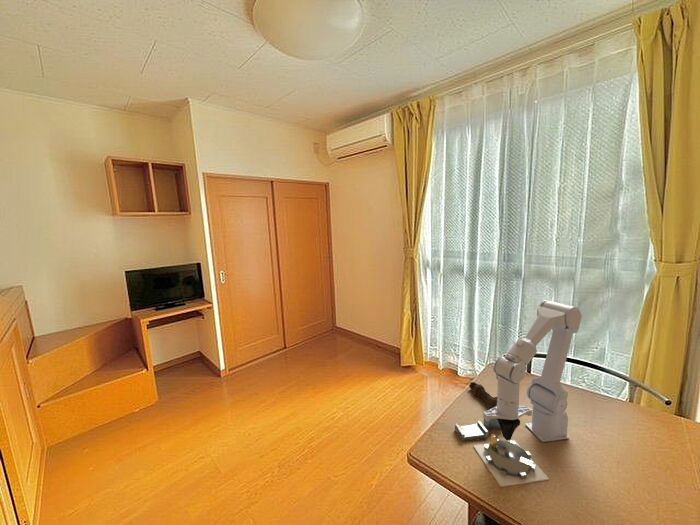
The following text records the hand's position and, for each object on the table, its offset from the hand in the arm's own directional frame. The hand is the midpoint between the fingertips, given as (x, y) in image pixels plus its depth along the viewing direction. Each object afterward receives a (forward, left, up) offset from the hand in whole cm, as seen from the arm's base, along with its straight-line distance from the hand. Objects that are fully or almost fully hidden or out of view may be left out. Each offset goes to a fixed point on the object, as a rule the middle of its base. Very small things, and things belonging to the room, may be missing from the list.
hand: (506, 437), depth 88 cm
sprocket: (+2, +4, -4) cm, 6 cm away
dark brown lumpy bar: (-7, -24, -5) cm, 26 cm away
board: (+2, +4, -4) cm, 6 cm away
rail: (+7, -8, -4) cm, 11 cm away
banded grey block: (-2, -10, -4) cm, 11 cm away
